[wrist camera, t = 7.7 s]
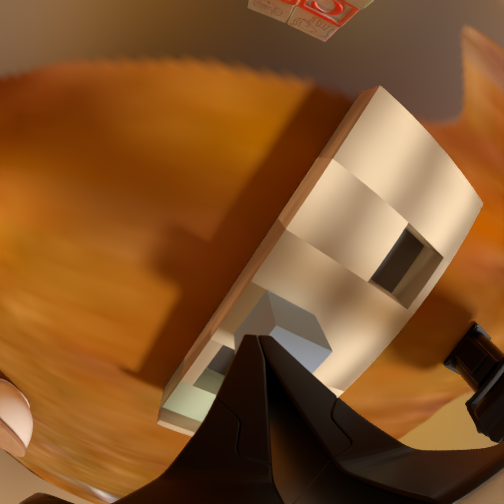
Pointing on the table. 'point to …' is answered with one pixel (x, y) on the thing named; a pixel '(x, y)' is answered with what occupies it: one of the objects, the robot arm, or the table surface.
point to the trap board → (343, 252)
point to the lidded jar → (14, 419)
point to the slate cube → (287, 329)
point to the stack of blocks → (310, 14)
